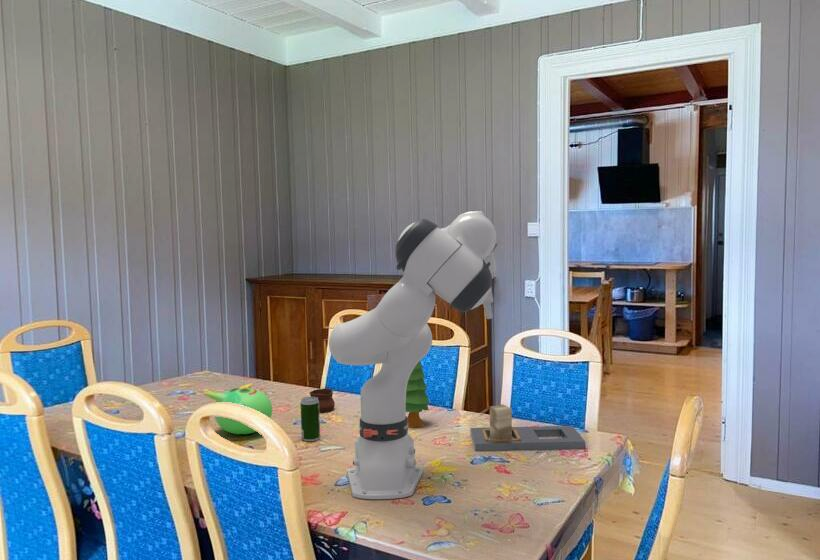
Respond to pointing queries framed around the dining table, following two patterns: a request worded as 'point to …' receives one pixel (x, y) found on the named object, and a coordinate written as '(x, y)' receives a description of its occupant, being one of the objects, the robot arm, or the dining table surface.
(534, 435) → the grey flat plate
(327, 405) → the ceramic pot
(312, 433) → the beer can
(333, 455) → the dining table surface
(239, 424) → the green teapot
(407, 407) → the decorative tree
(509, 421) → the wooden peg
